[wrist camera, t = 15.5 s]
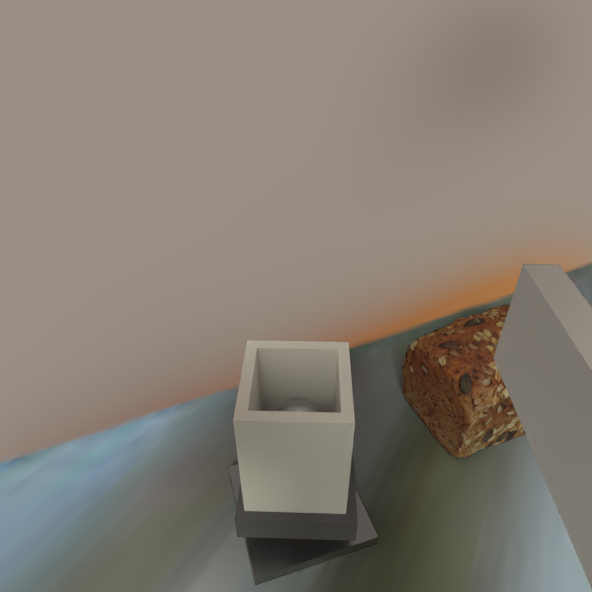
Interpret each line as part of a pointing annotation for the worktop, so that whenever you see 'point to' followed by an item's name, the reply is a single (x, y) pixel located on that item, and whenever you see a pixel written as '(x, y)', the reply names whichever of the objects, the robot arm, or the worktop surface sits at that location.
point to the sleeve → (295, 427)
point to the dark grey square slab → (300, 521)
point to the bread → (461, 384)
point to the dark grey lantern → (299, 552)
